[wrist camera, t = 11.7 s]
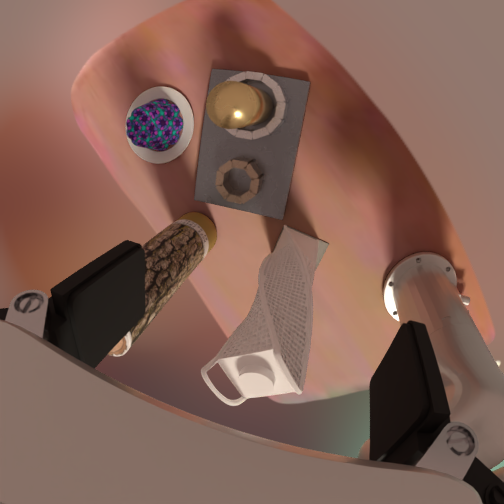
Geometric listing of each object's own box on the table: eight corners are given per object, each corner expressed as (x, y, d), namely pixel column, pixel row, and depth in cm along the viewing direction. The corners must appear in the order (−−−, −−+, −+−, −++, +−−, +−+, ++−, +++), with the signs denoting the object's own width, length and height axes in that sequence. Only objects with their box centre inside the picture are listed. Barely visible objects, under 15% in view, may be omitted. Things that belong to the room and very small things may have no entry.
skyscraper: (259, 259, 47) (187, 406, 22) (277, 213, 43) (209, 345, 18) (309, 281, 46) (281, 442, 22) (332, 236, 43) (329, 392, 18)
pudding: (211, 128, 40) (197, 130, 36) (156, 178, 45) (138, 185, 41) (165, 71, 38) (146, 67, 33) (116, 123, 43) (95, 126, 38)
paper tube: (174, 211, 47) (63, 293, 24) (215, 209, 45) (114, 300, 23) (182, 251, 49) (87, 349, 27) (221, 251, 48) (138, 362, 25)
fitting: (276, 91, 34) (259, 85, 26) (268, 128, 37) (249, 133, 28) (238, 84, 35) (210, 77, 26) (231, 120, 37) (202, 124, 29)
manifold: (310, 83, 34) (309, 79, 31) (283, 216, 43) (279, 226, 39) (215, 70, 36) (205, 66, 33) (198, 197, 45) (187, 204, 41)
